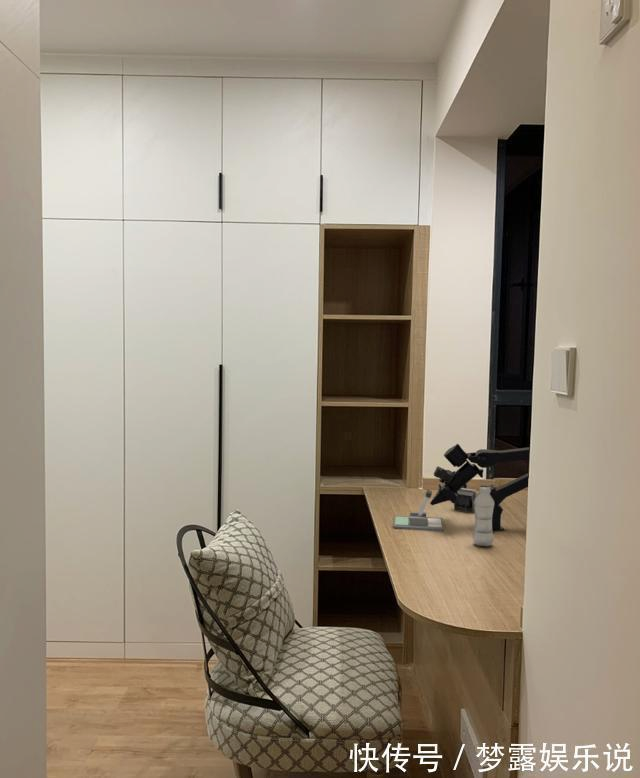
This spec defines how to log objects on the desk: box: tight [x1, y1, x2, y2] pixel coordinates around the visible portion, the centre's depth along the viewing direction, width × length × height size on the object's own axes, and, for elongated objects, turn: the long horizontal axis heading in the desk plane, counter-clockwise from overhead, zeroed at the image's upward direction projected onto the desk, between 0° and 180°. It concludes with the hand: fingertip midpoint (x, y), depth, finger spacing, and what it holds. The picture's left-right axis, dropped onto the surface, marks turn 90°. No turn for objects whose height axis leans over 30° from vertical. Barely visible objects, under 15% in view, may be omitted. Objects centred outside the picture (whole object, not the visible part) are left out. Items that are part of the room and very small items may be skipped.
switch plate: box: [392, 510, 445, 532], centre depth 230 cm, size 18×14×4 cm
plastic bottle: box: [472, 484, 494, 547], centre depth 206 cm, size 6×7×20 cm
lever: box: [417, 489, 433, 517], centre depth 229 cm, size 2×4×12 cm, turn 172°
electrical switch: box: [453, 488, 478, 514], centre depth 248 cm, size 9×5×9 cm, turn 57°
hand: (430, 504), depth 229 cm, fingers closed
